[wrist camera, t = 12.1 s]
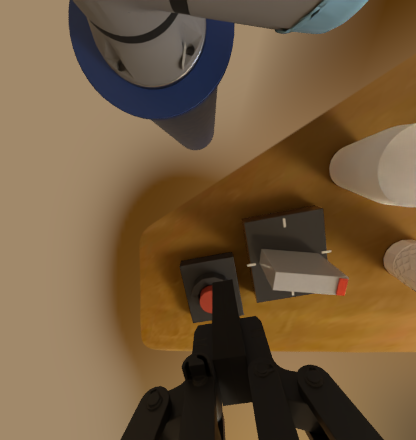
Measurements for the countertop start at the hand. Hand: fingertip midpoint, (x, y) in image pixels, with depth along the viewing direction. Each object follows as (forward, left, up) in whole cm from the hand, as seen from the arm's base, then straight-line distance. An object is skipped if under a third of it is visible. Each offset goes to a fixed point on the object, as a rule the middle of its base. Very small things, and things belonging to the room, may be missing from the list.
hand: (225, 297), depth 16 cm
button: (+11, -3, -18) cm, 21 cm away
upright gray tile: (+7, +10, -18) cm, 22 cm away
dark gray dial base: (+7, +10, -21) cm, 25 cm away
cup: (-5, +22, -22) cm, 31 cm away
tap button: (+11, -3, -21) cm, 24 cm away
